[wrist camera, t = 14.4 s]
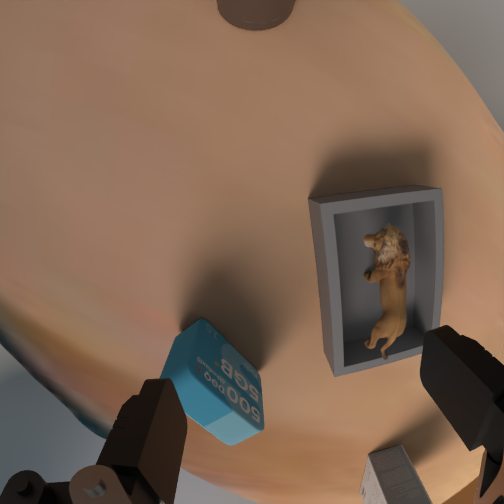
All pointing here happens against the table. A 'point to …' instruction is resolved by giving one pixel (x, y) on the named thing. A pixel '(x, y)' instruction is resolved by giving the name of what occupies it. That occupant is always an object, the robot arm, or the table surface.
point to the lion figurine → (389, 283)
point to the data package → (215, 384)
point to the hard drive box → (392, 479)
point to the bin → (362, 260)
